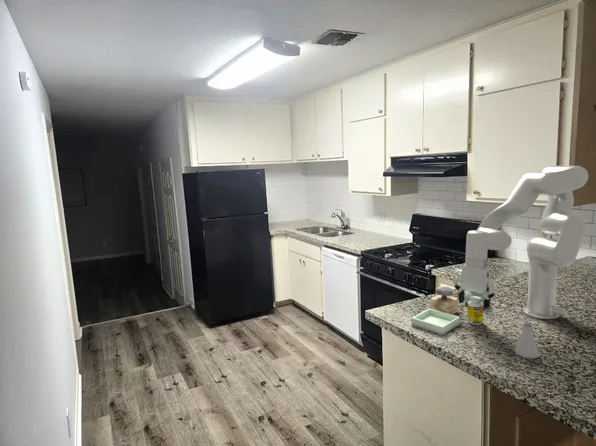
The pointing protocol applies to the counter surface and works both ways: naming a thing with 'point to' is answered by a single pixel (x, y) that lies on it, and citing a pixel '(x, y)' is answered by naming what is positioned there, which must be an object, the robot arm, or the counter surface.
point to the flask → (527, 343)
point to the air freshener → (470, 294)
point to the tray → (436, 321)
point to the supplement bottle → (475, 311)
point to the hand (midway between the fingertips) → (473, 305)
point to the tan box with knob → (444, 301)
